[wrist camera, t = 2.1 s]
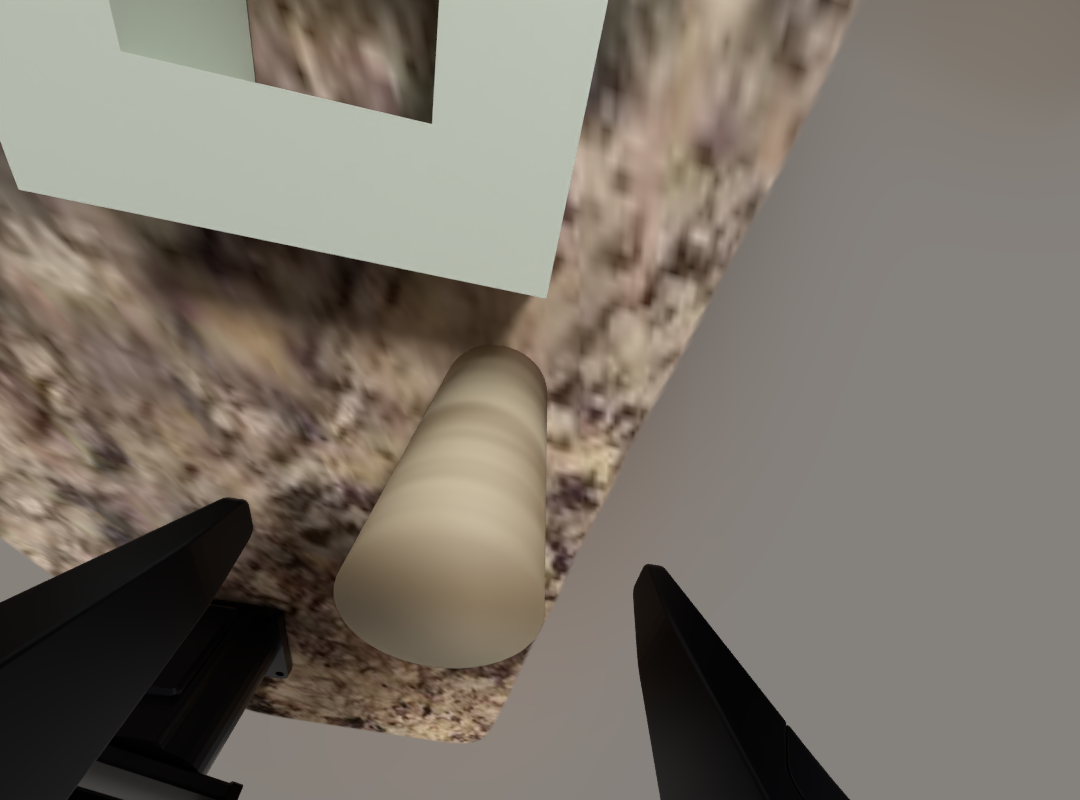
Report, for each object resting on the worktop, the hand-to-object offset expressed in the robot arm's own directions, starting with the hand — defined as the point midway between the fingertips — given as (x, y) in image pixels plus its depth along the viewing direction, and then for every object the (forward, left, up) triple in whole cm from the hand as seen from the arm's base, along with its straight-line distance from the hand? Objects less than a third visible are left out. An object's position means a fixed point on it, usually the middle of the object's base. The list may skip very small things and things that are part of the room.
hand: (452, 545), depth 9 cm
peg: (0, 0, -7) cm, 7 cm away
